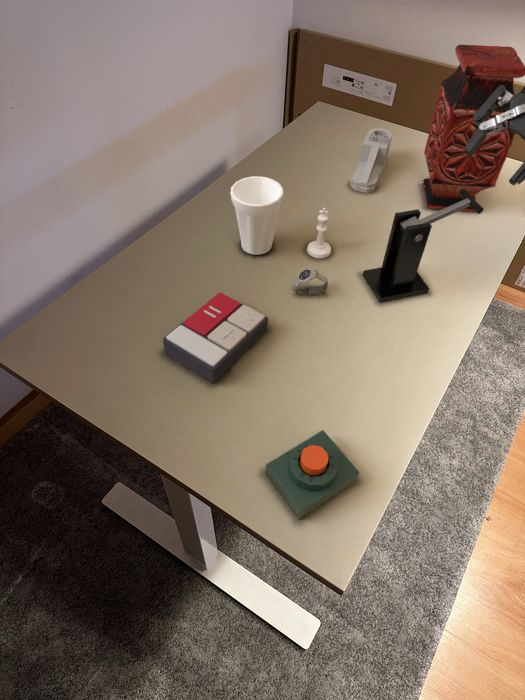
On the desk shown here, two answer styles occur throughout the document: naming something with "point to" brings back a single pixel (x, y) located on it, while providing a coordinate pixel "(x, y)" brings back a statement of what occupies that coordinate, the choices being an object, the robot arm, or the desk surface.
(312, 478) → the control block
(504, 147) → the vase
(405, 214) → the bracket
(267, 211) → the cup
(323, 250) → the chess piece
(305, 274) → the wristwatch
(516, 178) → the robot arm
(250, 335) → the calculator
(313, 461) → the orange button
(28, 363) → the desk surface
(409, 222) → the lever
